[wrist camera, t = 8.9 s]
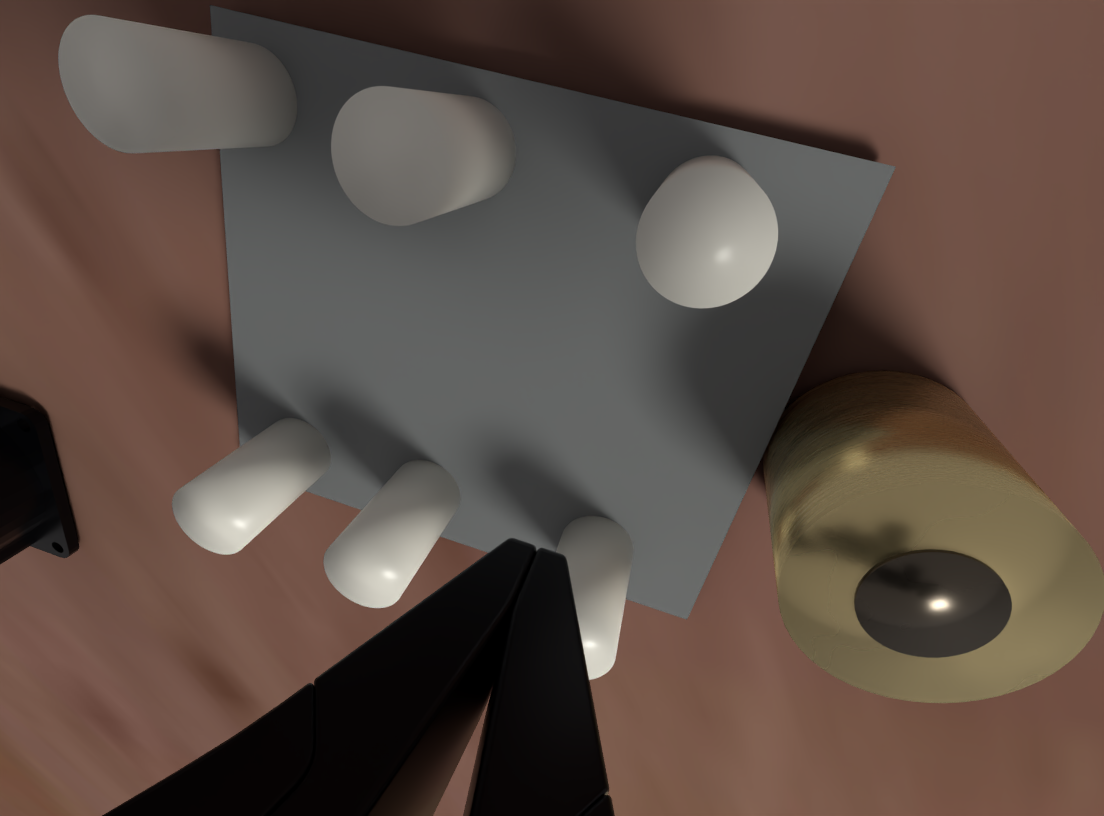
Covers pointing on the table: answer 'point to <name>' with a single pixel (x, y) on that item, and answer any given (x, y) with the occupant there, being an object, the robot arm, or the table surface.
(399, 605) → the table surface
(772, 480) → the knob
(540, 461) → the mat
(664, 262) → the spacers
